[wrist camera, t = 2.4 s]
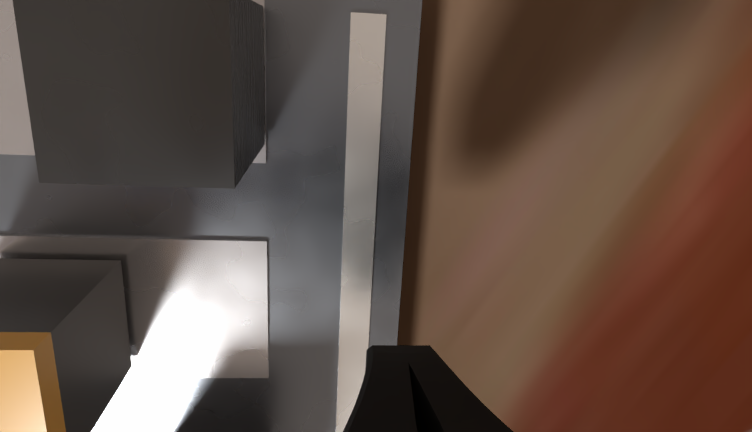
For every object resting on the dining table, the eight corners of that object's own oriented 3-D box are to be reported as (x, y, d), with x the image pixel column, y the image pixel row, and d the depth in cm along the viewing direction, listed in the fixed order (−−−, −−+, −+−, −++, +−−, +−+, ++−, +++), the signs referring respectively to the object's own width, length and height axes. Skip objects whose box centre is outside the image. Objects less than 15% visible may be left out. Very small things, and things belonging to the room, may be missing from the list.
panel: (-160, 511, 17) (-403, 742, 11) (-344, -50, 12) (-936, -132, 6) (378, 499, 18) (398, 697, 13) (413, -2, 13) (469, -34, 8)
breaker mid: (10, 366, 14) (-114, 491, 10) (-10, 258, 13) (-156, 350, 9) (131, 366, 14) (56, 487, 10) (120, 260, 13) (33, 350, 9)
